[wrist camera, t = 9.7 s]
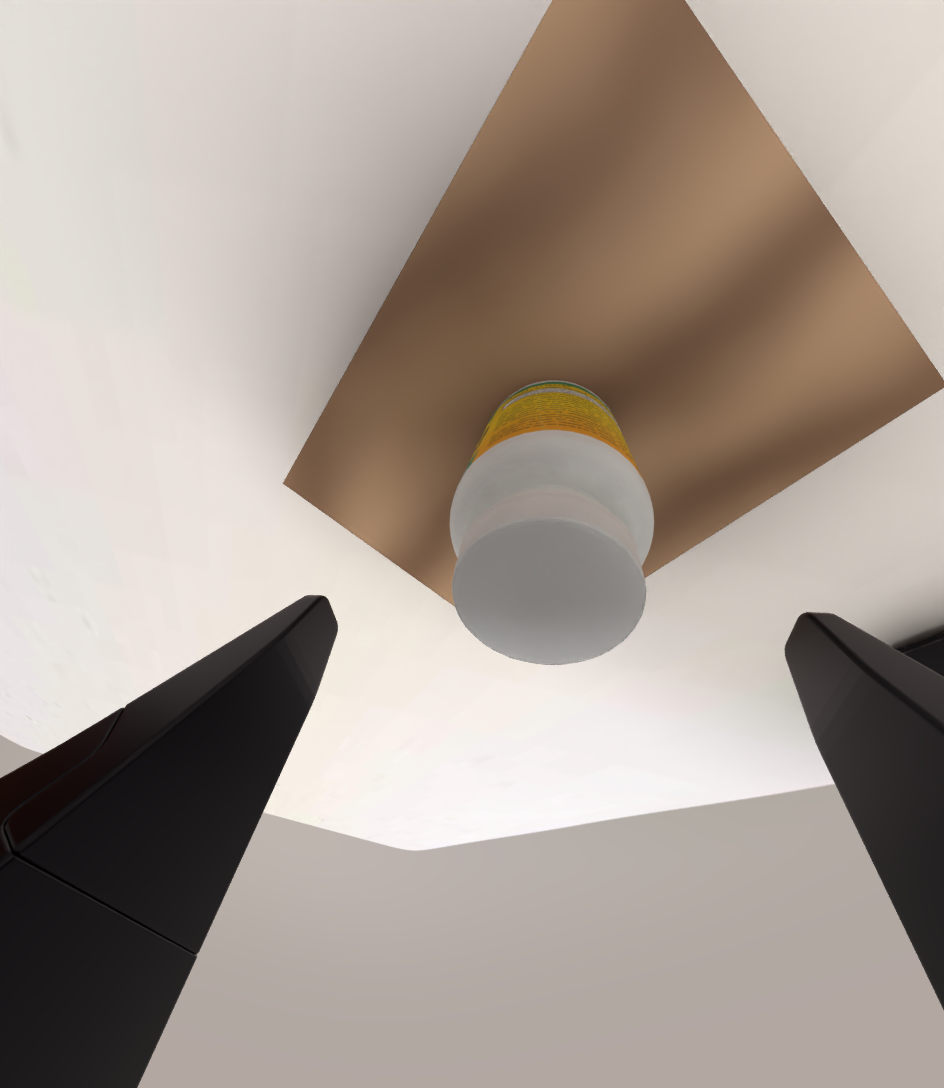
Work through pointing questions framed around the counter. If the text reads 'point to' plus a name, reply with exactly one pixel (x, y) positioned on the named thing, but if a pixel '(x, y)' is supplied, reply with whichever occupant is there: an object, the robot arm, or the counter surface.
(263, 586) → the counter surface
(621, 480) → the supplement bottle
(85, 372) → the counter surface
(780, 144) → the peg shelf
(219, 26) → the counter surface
